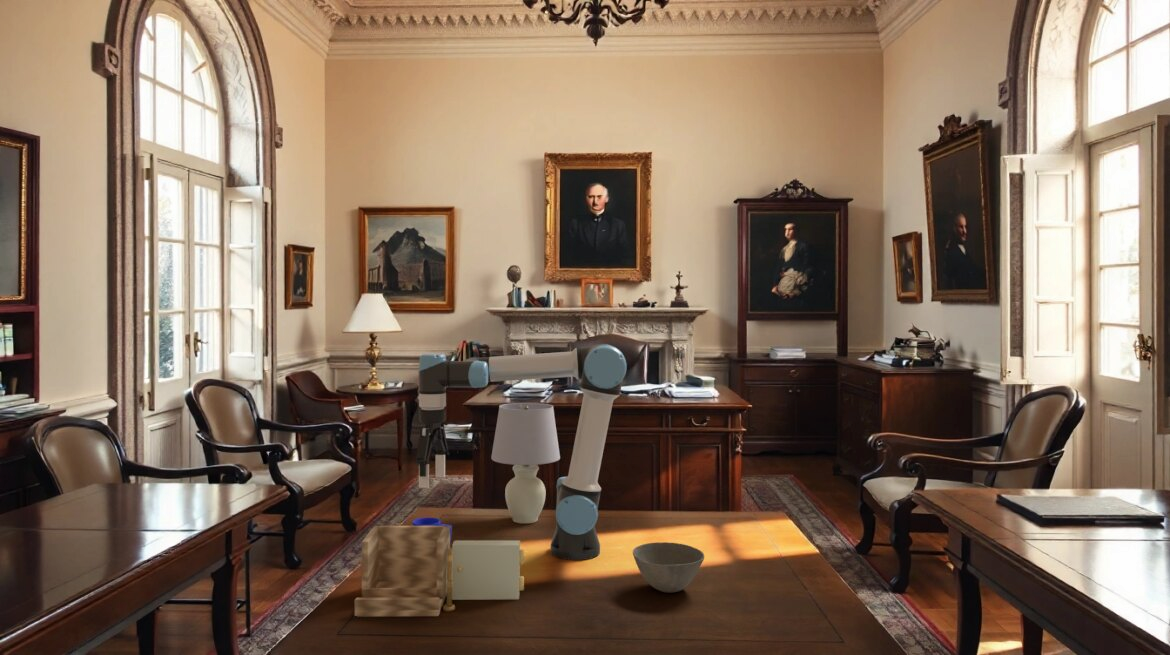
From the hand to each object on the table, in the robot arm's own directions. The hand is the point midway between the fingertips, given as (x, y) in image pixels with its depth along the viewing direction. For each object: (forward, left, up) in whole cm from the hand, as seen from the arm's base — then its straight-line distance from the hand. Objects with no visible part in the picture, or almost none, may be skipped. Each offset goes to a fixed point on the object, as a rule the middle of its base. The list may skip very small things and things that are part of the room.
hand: (432, 482), depth 224 cm
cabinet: (-5, +25, -24) cm, 35 cm away
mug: (+4, -10, -24) cm, 27 cm away
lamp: (-12, -53, -24) cm, 59 cm away
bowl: (-68, +2, -24) cm, 72 cm away
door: (-23, +18, -24) cm, 38 cm away
